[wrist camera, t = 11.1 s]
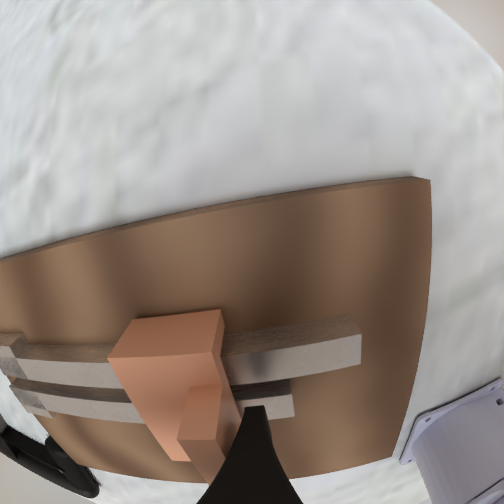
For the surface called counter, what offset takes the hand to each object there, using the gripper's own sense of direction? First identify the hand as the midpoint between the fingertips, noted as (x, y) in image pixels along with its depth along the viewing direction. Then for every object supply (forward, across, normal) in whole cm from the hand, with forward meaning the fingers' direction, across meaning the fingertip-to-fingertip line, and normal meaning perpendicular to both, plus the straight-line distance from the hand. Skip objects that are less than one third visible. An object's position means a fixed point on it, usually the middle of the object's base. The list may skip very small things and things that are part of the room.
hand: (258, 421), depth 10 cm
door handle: (+6, +30, +12) cm, 33 cm away
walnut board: (+5, +6, +3) cm, 8 cm away
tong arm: (+3, +8, +2) cm, 8 cm away
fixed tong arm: (+3, +6, -1) cm, 7 cm away
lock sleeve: (+3, +3, 0) cm, 4 cm away
